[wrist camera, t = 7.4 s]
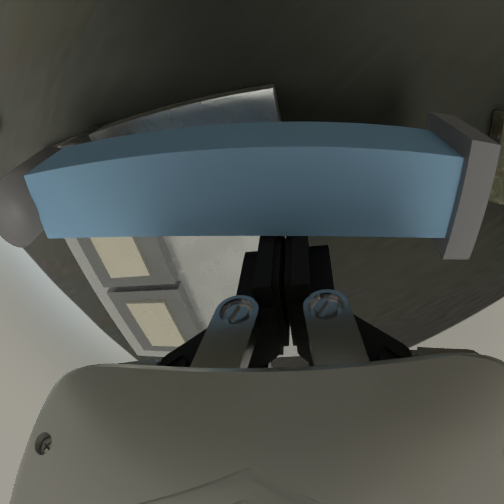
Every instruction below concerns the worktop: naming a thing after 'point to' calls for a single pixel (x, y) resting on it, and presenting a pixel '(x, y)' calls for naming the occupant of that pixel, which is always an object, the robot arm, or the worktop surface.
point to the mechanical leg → (500, 133)
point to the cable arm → (260, 183)
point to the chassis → (171, 240)
